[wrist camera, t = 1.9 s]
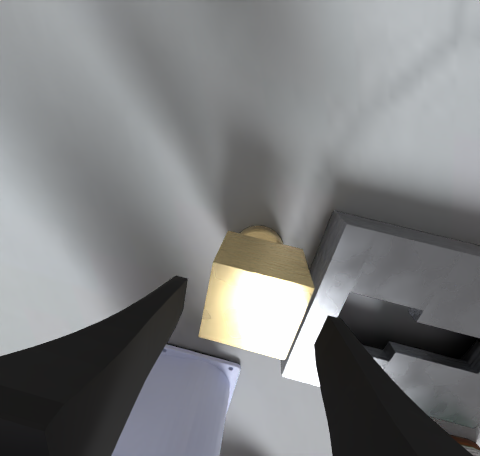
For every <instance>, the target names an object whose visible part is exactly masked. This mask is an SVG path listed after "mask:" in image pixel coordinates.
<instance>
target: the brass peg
mask: <svg viewBox="0 0 480 456" xmlns="http://www.w3.org/2000/svg"><path fill="white" fill-rule="evenodd" d="M314 289H315V288H314V284H313V281H312V278H311V275H310V272H309V268H308V265H307V262H306V259H305V255H304V252H303V249H299V248H295V247H291V246H287V245H283V242H282V240H281V238H280V236H279V235H278V234H277V233H276V232H275V231H274V230H272V229H270V228H268V227H265V226H251V227H248V228H246V229H244V230H243V231H242V232H240V233H235V232H231V231H228V232H227V234H226V236H225V238H224V240H223V242H222V244H221V247H220V249H219V251H218V253H217V255H216V257H215V259H214V261H213V265H212V270H211V275H210V280H209V286H208V291H207V296H206V301H205V306H204V311H203V316H202V321H201V326H200V331H199V337H201V338H205V339H208V340H212V341H216V342H219V343H223V344H227V345H231V346H234V347H238V348H242V349H245V350H249V351H253V352H257V353H260V354H264V355H268V356H271V357H275V358H279V359H283V360H285V358H286V356H287V353H288V351H289V348H290V346H291V344H292V341H293V339H294V336H295V334H296V332H297V329H298V327H299V324H300V322H301V320H302V317H303V315H304V313H305V310H306V308H307V305H308V303H309V301H310V298H311V296H312V293H313V291H314Z"/></svg>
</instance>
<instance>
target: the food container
mask: <svg viewBox="0 0 480 456" xmlns="http://www.w3.org/2000/svg"><path fill="white" fill-rule="evenodd" d="M450 436H451V437H452V438H453V439H455V440H456V441H457V442H458V443H459V444H460V445H462V446H463V447H464V448H465V449H466V450H467V451H469V452H470V453H471V454H472V455H473V456H480V447H479V446H478V445H477V444H476V443H475V442H473V441H471V440H468V439H466V438H461V437H457V436H452V435H450Z"/></svg>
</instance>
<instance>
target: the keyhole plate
mask: <svg viewBox="0 0 480 456" xmlns="http://www.w3.org/2000/svg"><path fill="white" fill-rule="evenodd" d="M309 272H310V275H311V278H312V281H313V284H314V288H315V289H314V291H313V293H312V296H311V298H310V301H309V303H308V305H307V308H306V310H305V313H304V315H303V317H302V320H301V322H300V324H299V327H298V329H297V332H296V334H295V336H294V339H293V341H292V344H291V346H290V348H289V351H288V353H287V356H286V358H285V360H283V359H281V374H282V377H286V378H290V379H294V380H297V381H301V382H305V383H308V384H312V385H316V386H319V387H320V384H319V379H318V374H317V369H316V363H315V352H314V343H315V341H316V339H317V337H318V335H319V333H320V331H321V329H322V327H323V324H324V322H325V320H326V318H327V316H328V315H329V316H333V317H338V315H339V313H340V311H341V309H342V307H343V305H344V303H345V301H346V299H347V297H348V295H349V293H350V292H352V293H356V294H360V295H364V296H368V297H372V298H376V299H380V300H384V301H388V302H392V303H395V304H399V305H403V306H407V307H411V308H410V309H409V311H408V312H409V314H410V315H411V316H412V317H413V318H414V320H415V321H416V322H419V323H422V324H426V325H430V326H434V327H438V328H442V329H446V330H450V331H454V332H457V333H461V334H465V335H469V336H473V337H477V338H478V339H477V340H476V341H475V342H474V343H473V345H472V346H471V347H470V348H469V349H468V350H467V352H466V353H465V354H464V355H463V356H462V358H461V359H460V360H459V359H455V358H451V357H447V356H444V355H440V354H436V353H432V352H428V351H425V350H421V349H417V348H413V347H409V346H405V345H402V344H398V343H394V342H390V341H389V342H388V343H387V345H386V346H385V348H384V350H380V349H377V348H373V347H369V346H365V345H363V346H364V348H365V349H366V350H367V351H368V352H369V354H370V355H371V356H372V357H373V358H374V359H375V361H376V362H377V363H378V364H379V365H380V366H381V368H382V369H383V370H384V371H385V372H386V373H387V374H388V375H389V376H390V378H391V379H392V380H393V381H394V382H395V383H396V384H397V385H398V386H399V387H400V388H401V389H402V390H403V391H404V392H405V393H406V394H407V395H408V396H409V397H410V398H411V399H412V400H413V401H414V402H415V403H416V404H417V405H418V406H419V407H420V408H421V409H422V410H423V411H424V412H425V413H426V414H427V415H428V416H430V417H433V418H437V419H441V420H444V421H448V422H452V423H456V424H459V425H463V426H467V427H470V428H475V427H476V426H477V425H478V424H479V423H480V246H479V245H475V244H471V243H467V242H462V241H458V240H454V239H450V238H446V237H442V236H438V235H434V234H429V233H425V232H421V231H417V230H413V229H409V228H405V227H400V226H396V225H392V224H388V223H384V222H380V221H376V220H372V219H367V218H363V217H359V216H355V215H351V214H347V213H343V212H338V211H334V210H333V213H332V215H331V218H330V220H329V223H328V225H327V228H326V230H325V233H324V236H323V238H322V241H321V243H320V246H319V248H318V251H317V253H316V256H315V258H314V261H313V263H312V266H311V269H310V271H309Z"/></svg>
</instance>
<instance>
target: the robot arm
mask: <svg viewBox="0 0 480 456" xmlns="http://www.w3.org/2000/svg"><path fill="white" fill-rule="evenodd" d="M187 280H188V279H187V278H183V277H179V276H175V277H173V278H172V279H170V280H169V281H168V282H166V283H165V284H163V285H162V286H160V287H159V288H158V289H156V290H155V291H153V292H152V293H150V294H149V295H147V296H146V297H144V298H142V299H141V300H139V301H137V302H136V303H134V304H132V305H131V306H129V307H127V308H126V309H124V310H122V311H120V312H118V313H116V314H114V315H112V316H110V317H108V318H106V319H104V320H102V321H100V322H98V323H96V324H93V325H91V326H88V327H86V328H84V329H81V330H79V331H77V332H74V333H72V334H69V335H66V336H63V337H61V338H58V339H55V340H52V341H49V342H46V343H43V344H40V345H37V346H34V347H31V348H28V349H24V350H21V351H17V352H14V353H10V354H7V355H3V356H0V456H220V450H221V444H222V437H223V431H224V425H225V419H226V413H227V411H228V408H229V405H230V402H231V399H232V395H233V392H234V389H235V386H236V383H237V380H238V377H239V373H240V369H241V366H240V365H239V364H237V363H234V362H230V361H226V360H223V359H219V358H215V357H212V356H208V355H204V354H201V353H197V352H193V351H190V350H186V349H182V348H179V347H175V346H171V345H167V344H166V343H167V342H168V340H169V338H170V336H171V335H172V333H173V331H174V329H175V327H176V325H177V323H178V321H179V318H180V316H181V314H182V311H183V307H184V301H185V294H186V287H187ZM314 352H315V363H316V369H317V374H318V379H319V384H320V388H321V393H322V398H323V402H324V407H325V411H326V416H327V421H328V426H329V432H330V439H331V446H332V454H333V456H473V455H472V454H471V453H470V452H469V451H467V450H466V449H465V448H464V447H463V446H462V445H460V444H459V443H458V442H457V441H456V440H455V439H453V438H452V437H451V436H450V435H449V434H448V433H447V432H446V431H445V430H443V429H442V428H441V427H440V426H439V425H438V424H437V423H436V422H435V421H433V420H432V419H431V418H430V417H429V416H428V415H427V414H426V413H425V412H424V411H423V410H422V409H421V408H420V407H419V406H418V405H417V404H416V403H415V402H414V401H413V400H412V399H411V398H410V397H409V396H408V395H407V394H406V393H405V392H404V391H403V390H402V389H401V388H400V387H399V386H398V385H397V384H396V383H395V382H394V381H393V380H392V379H391V378H390V376H389V375H388V374H387V373H386V372H385V371H384V370H383V369H382V368H381V366H380V365H379V364H378V363H377V362H376V361H375V359H374V358H373V357H372V356H371V355H370V354H369V352H368V351H367V350H366V349H365V348H364V346H363V345H362V344H361V343H360V341H359V340H358V339H357V338H356V337H355V335H354V334H353V333H352V332H351V330H350V329H349V328H348V327H347V326H346V324H345V323H344V322H343V321H342V320H341V319H340V318H337V317H333V316H329V315H328V316H327V318H326V320H325V322H324V324H323V327H322V329H321V331H320V333H319V335H318V337H317V339H316V341H315V343H314Z"/></svg>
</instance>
